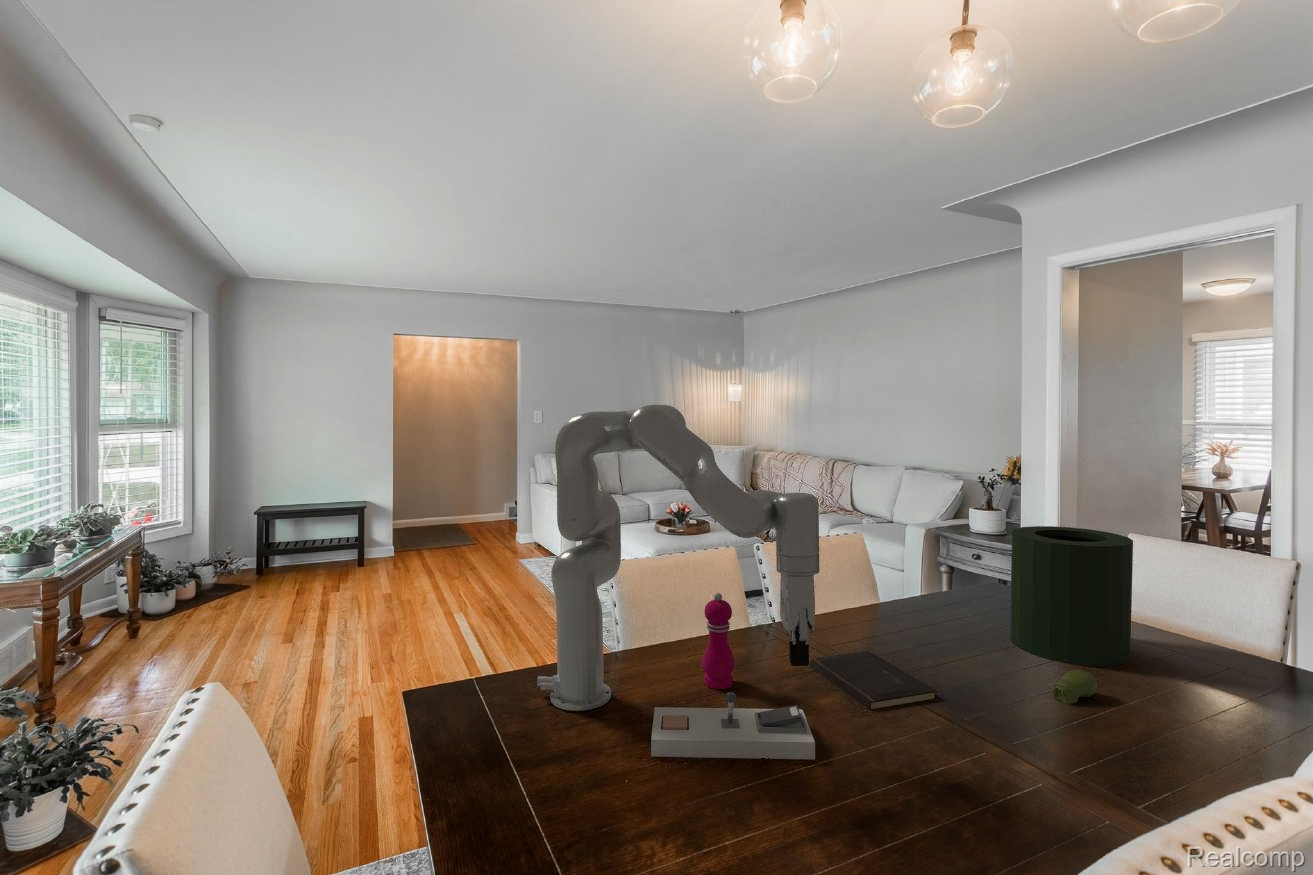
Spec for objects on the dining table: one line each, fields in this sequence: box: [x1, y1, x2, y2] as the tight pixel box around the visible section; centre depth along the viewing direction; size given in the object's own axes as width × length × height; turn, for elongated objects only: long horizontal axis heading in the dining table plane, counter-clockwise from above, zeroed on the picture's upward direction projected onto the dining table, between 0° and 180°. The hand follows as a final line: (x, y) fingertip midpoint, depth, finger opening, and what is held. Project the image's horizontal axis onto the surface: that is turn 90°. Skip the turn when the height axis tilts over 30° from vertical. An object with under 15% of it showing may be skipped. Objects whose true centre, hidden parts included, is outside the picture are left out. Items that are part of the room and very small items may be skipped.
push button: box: [663, 715, 687, 730], centre depth 116 cm, size 4×4×3 cm
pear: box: [1051, 668, 1098, 705], centre depth 132 cm, size 6×5×10 cm
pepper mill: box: [701, 592, 736, 690], centre depth 139 cm, size 7×7×20 cm
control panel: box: [650, 706, 816, 760], centre depth 116 cm, size 28×12×4 cm, turn 87°
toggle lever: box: [725, 691, 737, 724], centre depth 114 cm, size 2×2×7 cm
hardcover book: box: [809, 650, 938, 711], centre depth 140 cm, size 16×23×2 cm
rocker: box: [759, 704, 802, 727], centre depth 115 cm, size 7×4×1 cm, turn 87°
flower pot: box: [1009, 525, 1134, 668], centre depth 159 cm, size 25×25×28 cm
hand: (799, 664), depth 114 cm, fingers closed
